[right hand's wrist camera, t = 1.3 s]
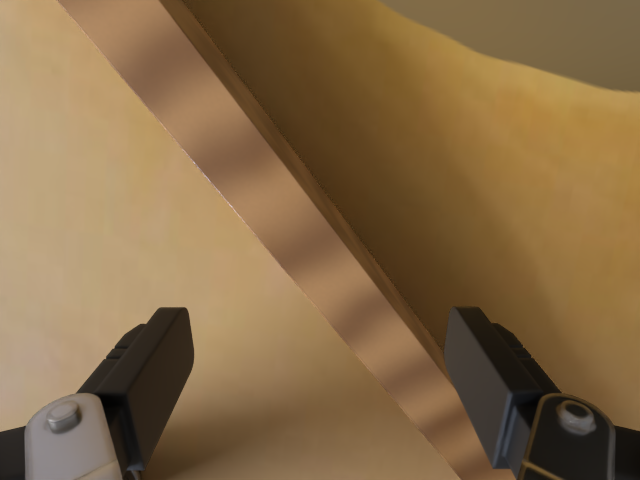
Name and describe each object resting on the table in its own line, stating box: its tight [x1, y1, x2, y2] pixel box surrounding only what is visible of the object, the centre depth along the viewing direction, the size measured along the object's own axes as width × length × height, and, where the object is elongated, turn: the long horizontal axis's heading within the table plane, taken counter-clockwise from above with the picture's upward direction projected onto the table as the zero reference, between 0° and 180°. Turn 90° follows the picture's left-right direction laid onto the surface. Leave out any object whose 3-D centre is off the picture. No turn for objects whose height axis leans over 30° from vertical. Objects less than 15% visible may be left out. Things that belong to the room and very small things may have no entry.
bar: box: [57, 0, 516, 480], centre depth 32 cm, size 78×4×8 cm, turn 36°
